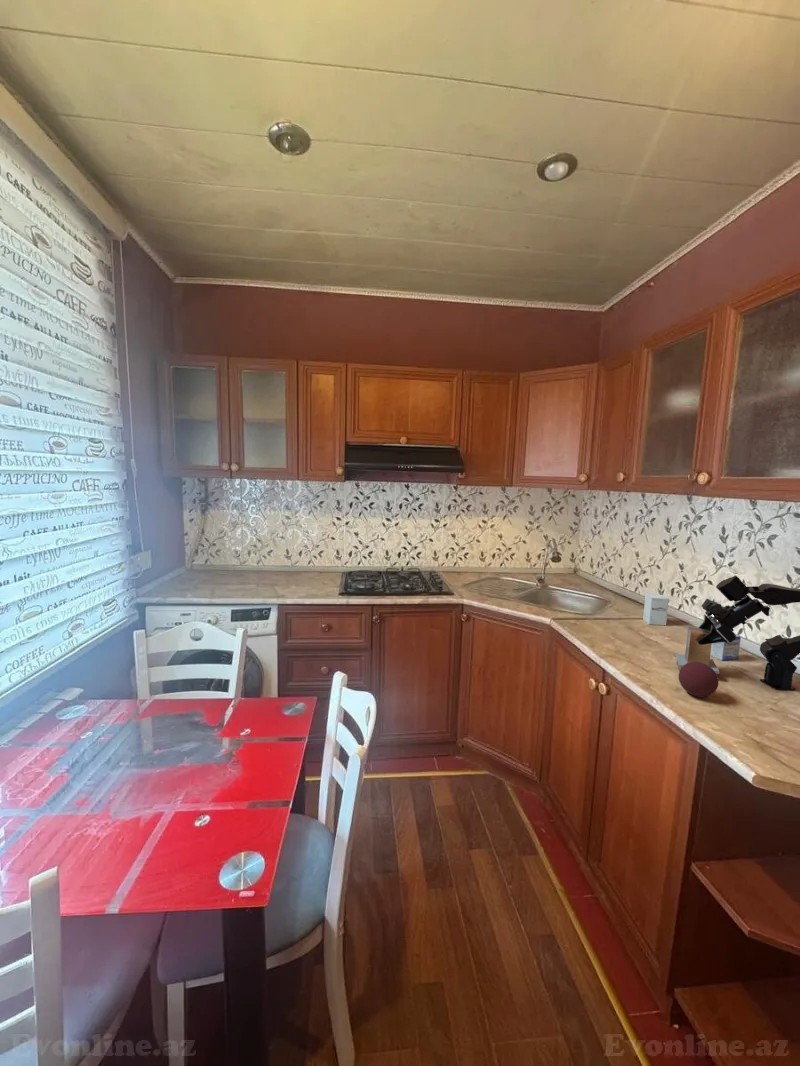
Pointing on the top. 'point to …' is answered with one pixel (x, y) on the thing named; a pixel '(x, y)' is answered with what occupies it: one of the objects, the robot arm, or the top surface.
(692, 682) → the decorative ball
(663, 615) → the supplement box
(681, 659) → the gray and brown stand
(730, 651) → the medicine box
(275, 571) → the top surface
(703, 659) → the two-tone metal block
